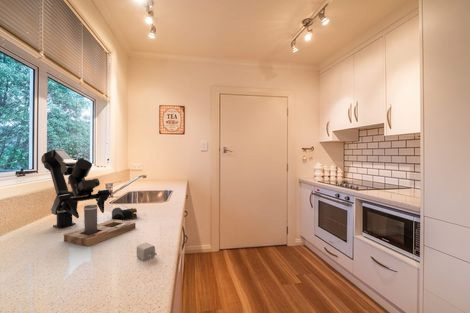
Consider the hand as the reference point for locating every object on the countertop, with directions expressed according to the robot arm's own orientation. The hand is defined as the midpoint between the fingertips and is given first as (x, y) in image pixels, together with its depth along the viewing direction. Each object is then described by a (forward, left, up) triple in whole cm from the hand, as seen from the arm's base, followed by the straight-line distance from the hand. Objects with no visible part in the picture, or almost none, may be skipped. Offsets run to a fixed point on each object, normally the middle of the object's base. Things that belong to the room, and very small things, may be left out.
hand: (91, 214), depth 90 cm
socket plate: (0, +5, -9) cm, 11 cm away
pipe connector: (-10, +25, -10) cm, 29 cm away
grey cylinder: (0, 0, -9) cm, 9 cm away
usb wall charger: (+34, -5, -10) cm, 36 cm away
